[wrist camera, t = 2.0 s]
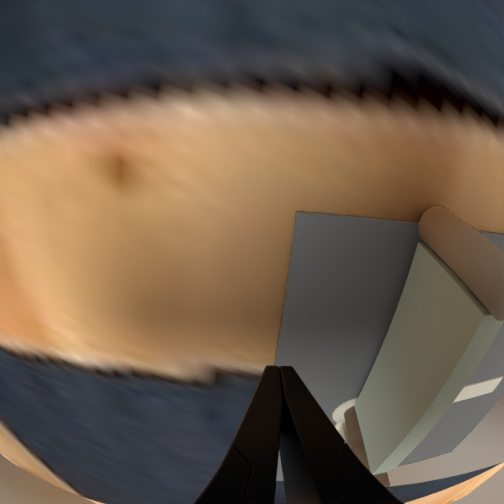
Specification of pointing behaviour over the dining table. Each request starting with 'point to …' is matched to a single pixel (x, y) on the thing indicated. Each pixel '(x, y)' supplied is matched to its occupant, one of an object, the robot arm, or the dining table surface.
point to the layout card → (364, 319)
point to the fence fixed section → (357, 441)
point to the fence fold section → (432, 337)
